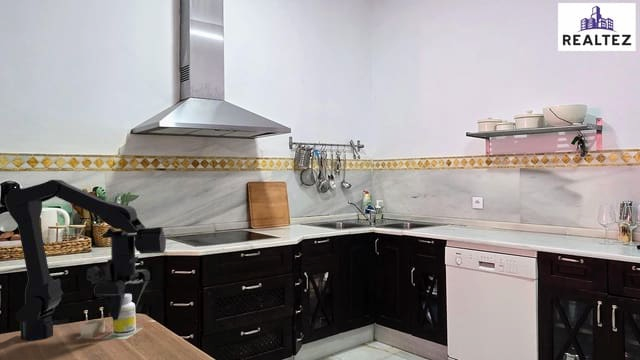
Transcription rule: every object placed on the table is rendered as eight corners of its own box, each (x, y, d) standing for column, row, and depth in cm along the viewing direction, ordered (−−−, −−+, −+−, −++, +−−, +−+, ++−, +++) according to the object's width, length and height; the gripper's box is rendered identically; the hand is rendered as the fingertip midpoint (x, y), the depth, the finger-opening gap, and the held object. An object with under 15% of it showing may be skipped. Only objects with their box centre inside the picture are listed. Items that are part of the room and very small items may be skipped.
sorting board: (72, 344, 120) (72, 339, 120) (94, 331, 130) (94, 327, 130) (126, 344, 118) (126, 339, 118) (144, 331, 128) (144, 327, 128)
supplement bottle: (118, 330, 126) (117, 293, 126) (138, 329, 126) (137, 292, 127) (110, 337, 121) (109, 298, 121) (131, 336, 121) (130, 297, 121)
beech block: (92, 338, 120) (92, 326, 120) (80, 338, 120) (80, 326, 120) (104, 330, 126) (104, 319, 126) (93, 330, 126) (93, 319, 126)
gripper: (111, 249, 134) (112, 305, 134) (72, 260, 115) (73, 325, 115) (150, 249, 133) (151, 305, 133) (116, 260, 114) (117, 325, 114)
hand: (124, 314), depth 124 cm, fingers open, 9 cm apart
